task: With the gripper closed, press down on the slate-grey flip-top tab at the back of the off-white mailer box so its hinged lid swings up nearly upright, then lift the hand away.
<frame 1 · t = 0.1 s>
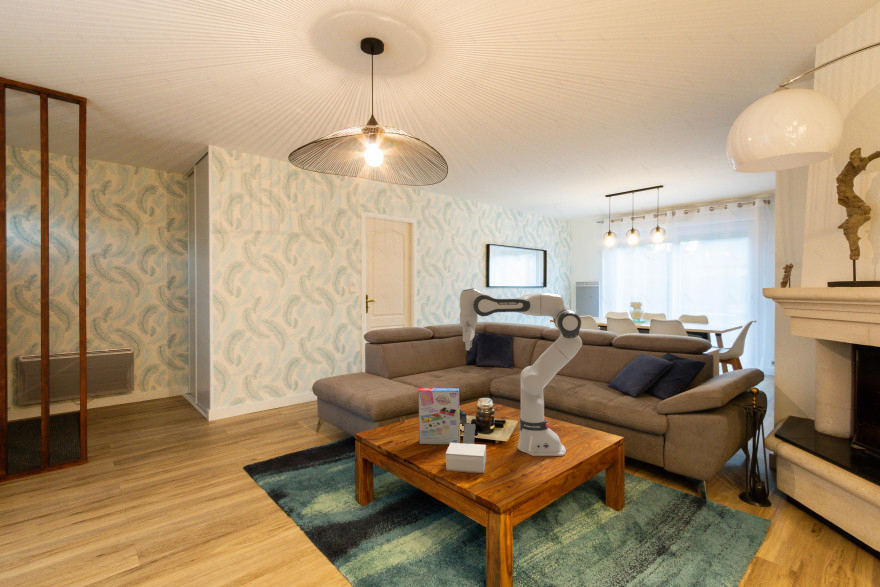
hand: (468, 348, 203), 48 cm above the table, fingers open, 8 cm apart
lid: (467, 440, 181), point 10 cm above the table, hinge at 0.0°
vhs cassette tape: (458, 427, 229), on the table
mailer box: (466, 465, 178), on the table
game box: (439, 443, 206), on the table
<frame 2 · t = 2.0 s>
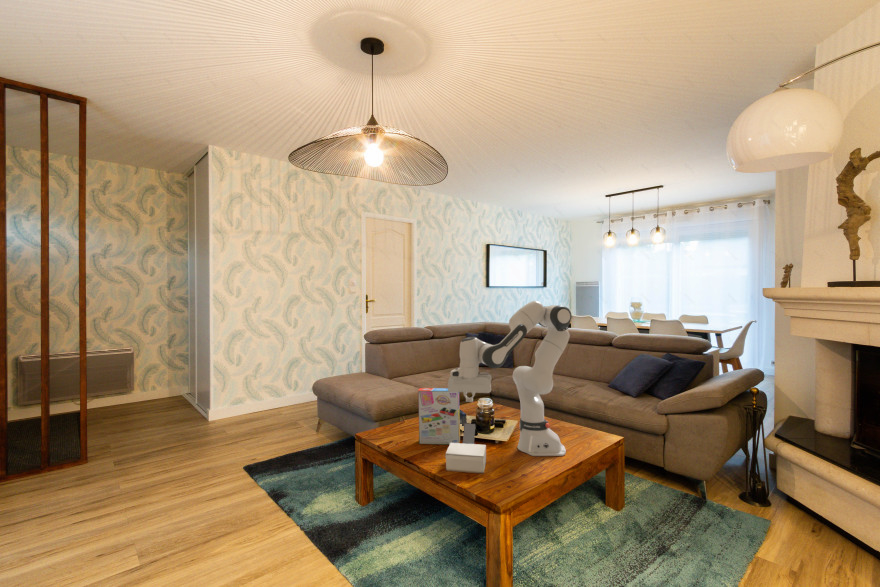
hand: (469, 401, 190), 25 cm above the table, fingers closed
nothing on the table moved.
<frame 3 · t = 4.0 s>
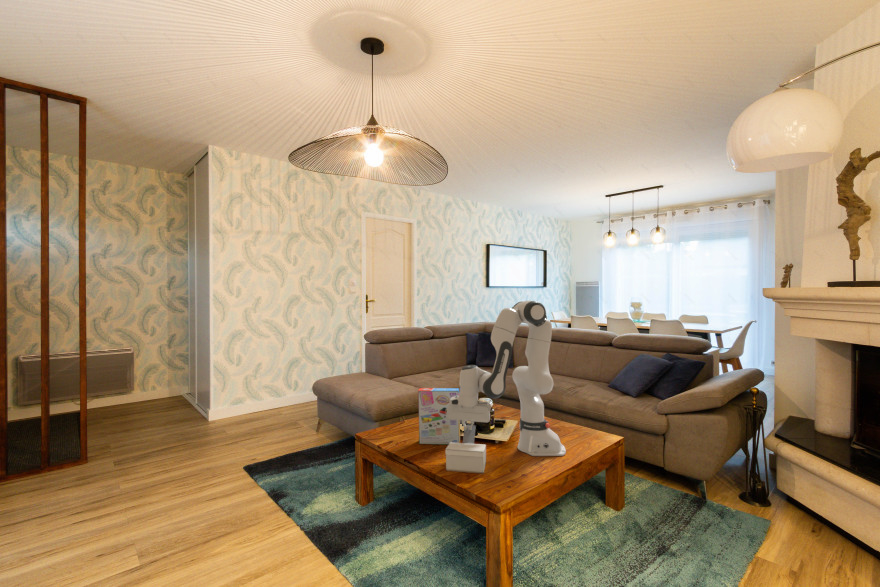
hand: (467, 430, 189), 12 cm above the table, fingers closed, pressing on lid
lid: (467, 439, 182), point 10 cm above the table, hinge at 8.0°, touching gripper
everything else where it was.
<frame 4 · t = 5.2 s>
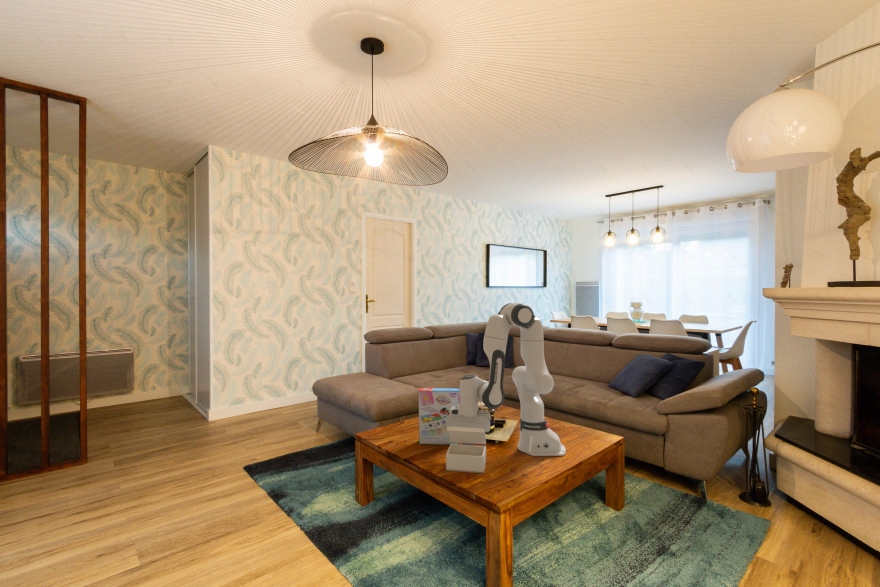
hand: (468, 439, 190), 7 cm above the table, fingers closed, pressing on lid
lid: (468, 434, 184), point 11 cm above the table, hinge at 49.9°, touching gripper
everything else where it was.
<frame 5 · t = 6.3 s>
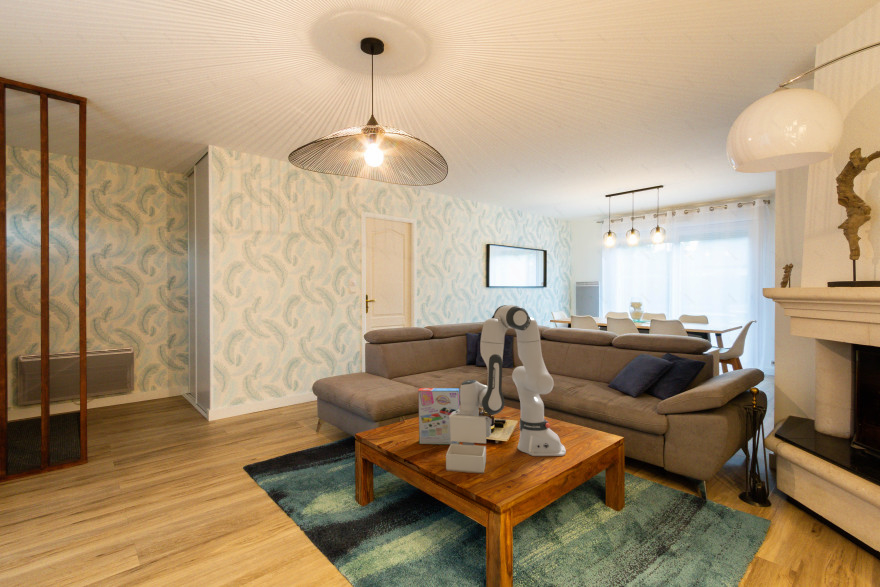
hand: (469, 444, 190), 5 cm above the table, fingers closed
lid: (468, 434, 187), point 11 cm above the table, hinge at 79.9°
everything else where it was.
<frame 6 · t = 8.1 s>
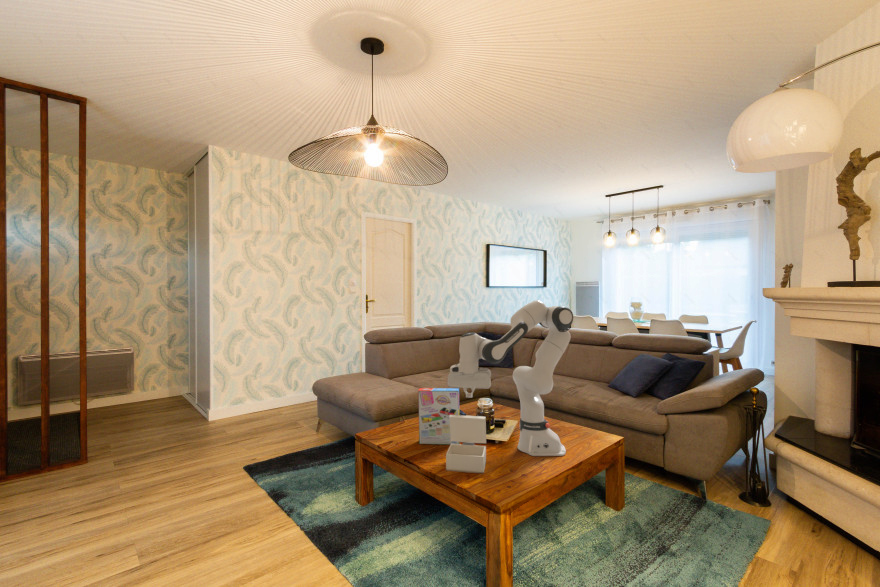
hand: (469, 397, 190), 27 cm above the table, fingers closed
nothing on the table moved.
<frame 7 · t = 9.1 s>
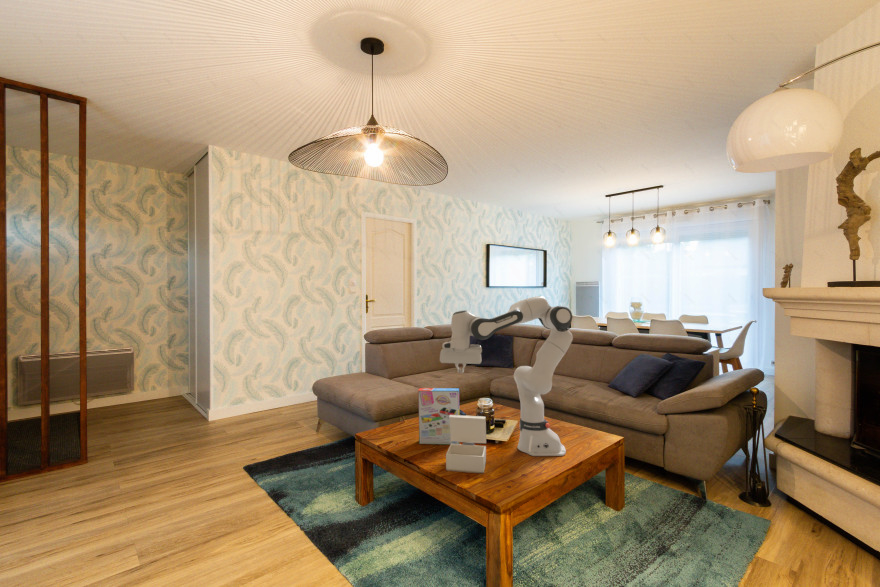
hand: (460, 372, 197), 37 cm above the table, fingers closed
nothing on the table moved.
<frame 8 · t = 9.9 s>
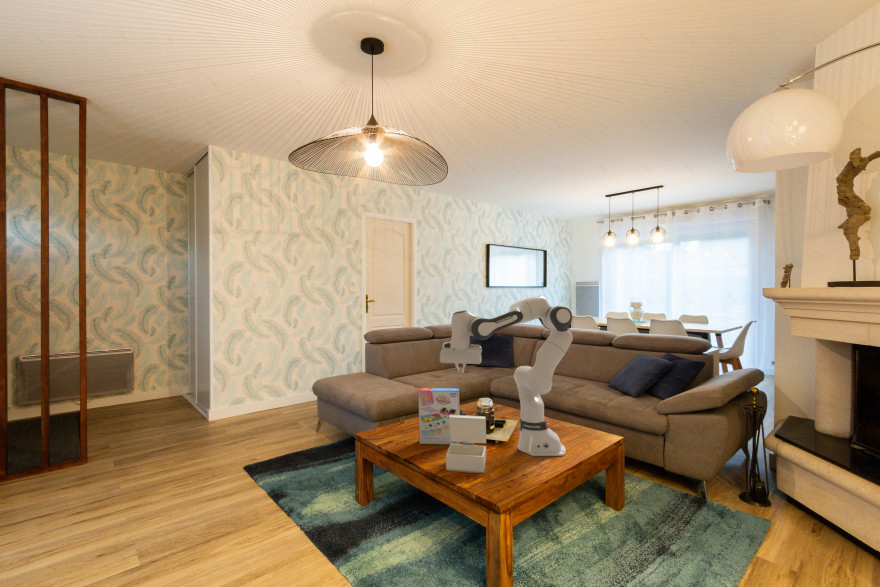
hand: (460, 372, 197), 37 cm above the table, fingers closed
nothing on the table moved.
at the end: lid at +80° (first picture: +0°); the gripper is holding nothing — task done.
